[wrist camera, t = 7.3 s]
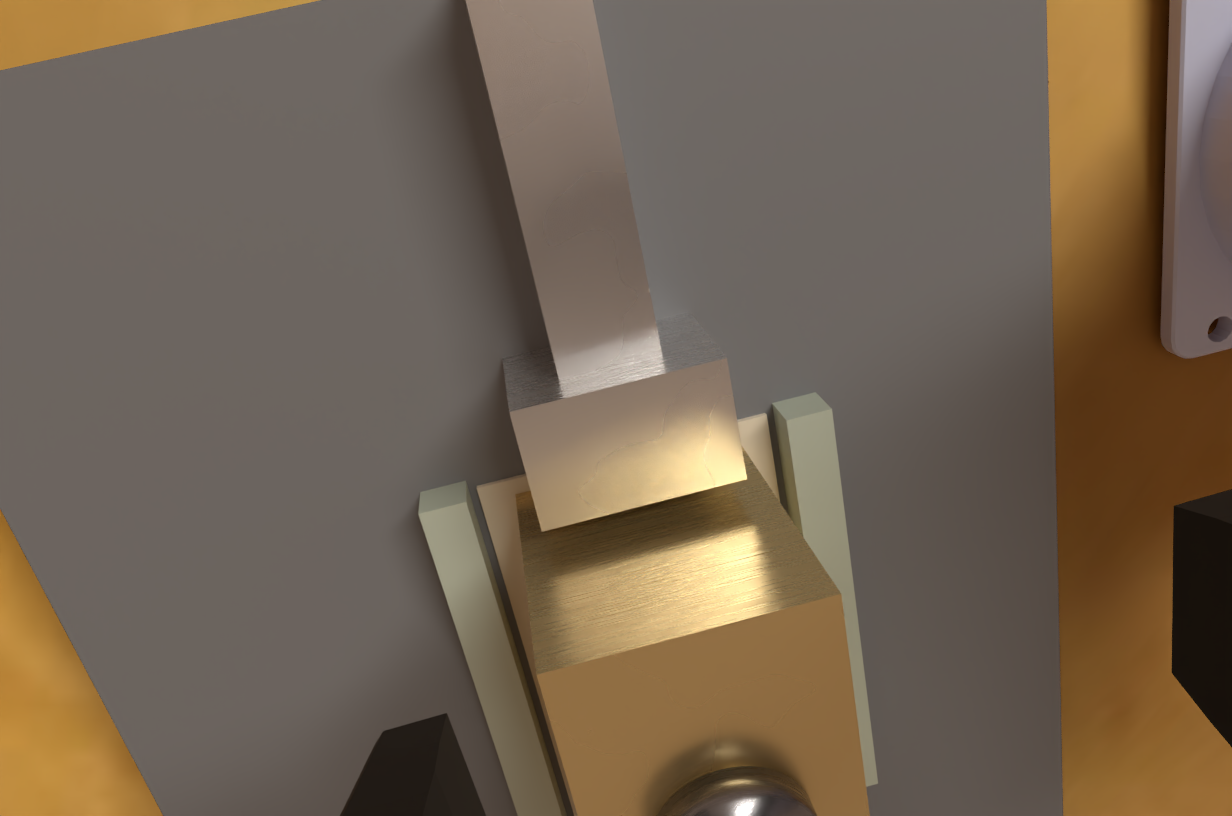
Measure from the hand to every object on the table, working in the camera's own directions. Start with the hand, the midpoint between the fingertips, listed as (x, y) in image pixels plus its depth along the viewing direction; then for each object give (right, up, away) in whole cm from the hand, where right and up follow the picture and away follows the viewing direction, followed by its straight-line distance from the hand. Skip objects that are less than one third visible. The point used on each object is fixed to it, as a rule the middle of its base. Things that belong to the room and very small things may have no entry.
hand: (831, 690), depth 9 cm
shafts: (0, -2, +9) cm, 9 cm away
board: (-2, -1, +10) cm, 11 cm away
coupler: (-1, -1, +9) cm, 9 cm away
